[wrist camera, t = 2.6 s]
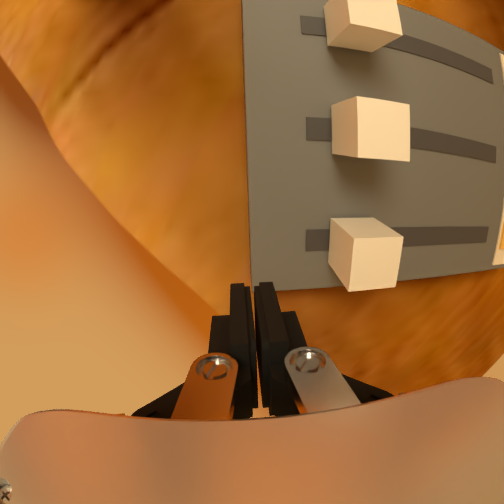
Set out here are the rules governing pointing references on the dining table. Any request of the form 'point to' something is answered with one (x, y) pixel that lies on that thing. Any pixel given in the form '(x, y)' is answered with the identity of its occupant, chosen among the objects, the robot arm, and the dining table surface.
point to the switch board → (367, 169)
